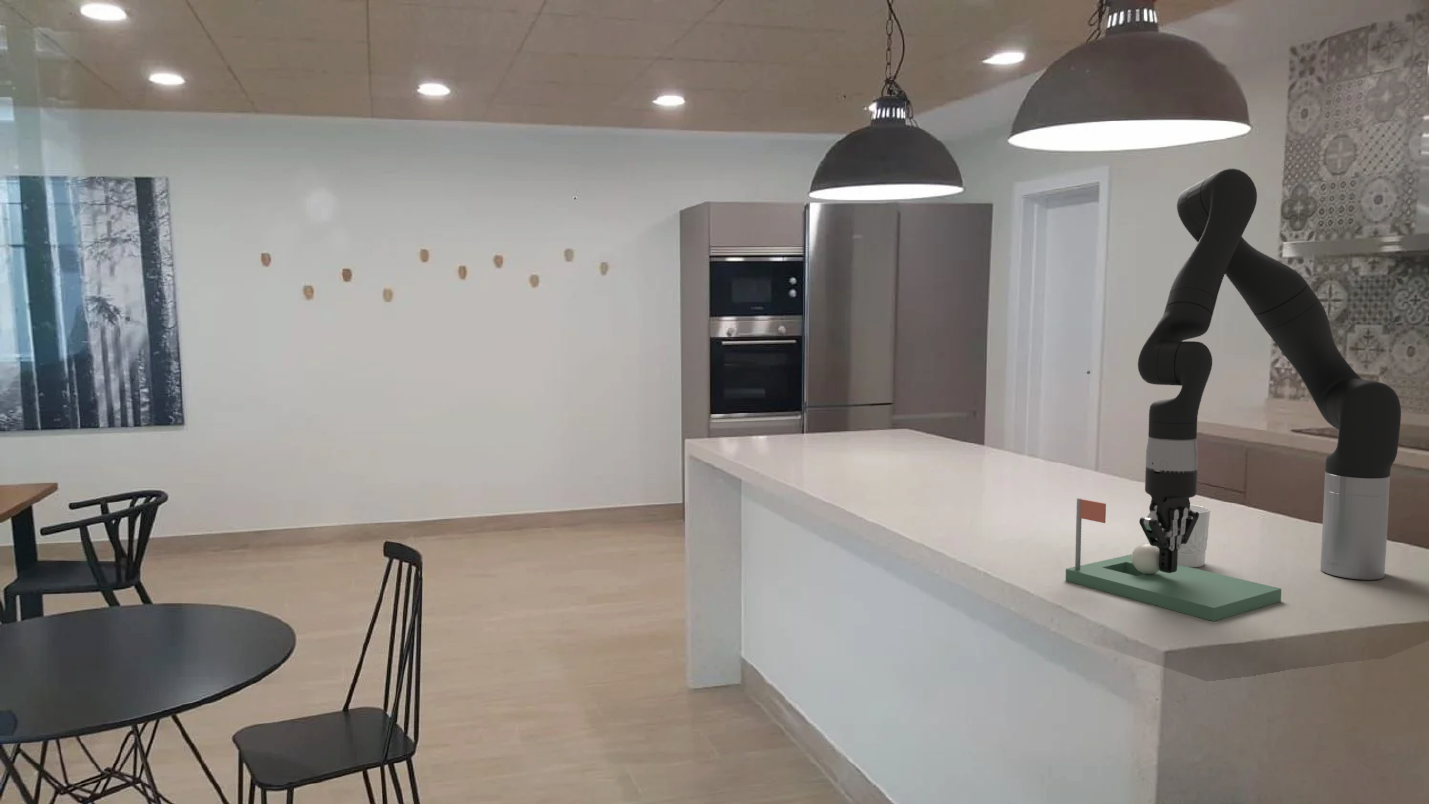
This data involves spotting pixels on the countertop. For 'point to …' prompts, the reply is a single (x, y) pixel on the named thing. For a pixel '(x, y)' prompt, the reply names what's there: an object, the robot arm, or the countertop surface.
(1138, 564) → the ball
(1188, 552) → the white cup
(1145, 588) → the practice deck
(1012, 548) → the countertop surface
